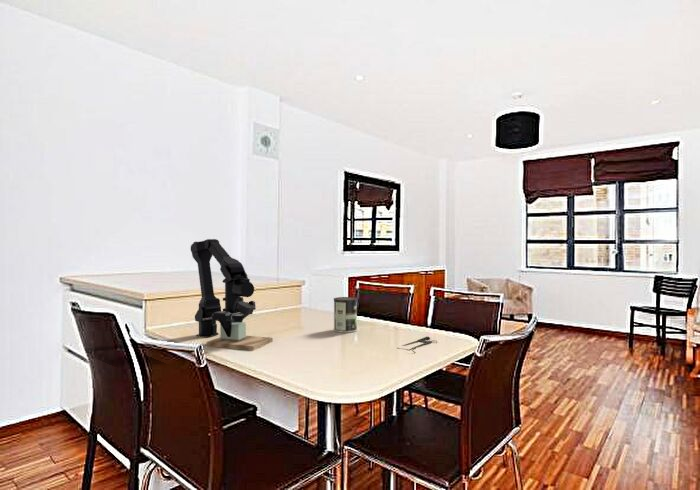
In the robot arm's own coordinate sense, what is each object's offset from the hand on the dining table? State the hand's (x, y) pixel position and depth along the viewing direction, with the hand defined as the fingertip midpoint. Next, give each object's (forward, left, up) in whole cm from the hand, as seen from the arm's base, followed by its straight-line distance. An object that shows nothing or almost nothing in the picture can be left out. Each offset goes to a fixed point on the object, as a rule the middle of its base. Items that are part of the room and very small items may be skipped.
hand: (232, 335), depth 165 cm
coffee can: (+33, +36, -3) cm, 49 cm away
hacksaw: (+69, +19, -4) cm, 72 cm away
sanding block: (0, 0, -1) cm, 1 cm away
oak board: (+3, 0, -3) cm, 4 cm away
